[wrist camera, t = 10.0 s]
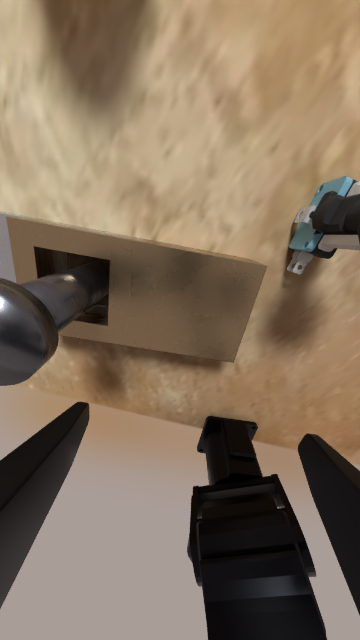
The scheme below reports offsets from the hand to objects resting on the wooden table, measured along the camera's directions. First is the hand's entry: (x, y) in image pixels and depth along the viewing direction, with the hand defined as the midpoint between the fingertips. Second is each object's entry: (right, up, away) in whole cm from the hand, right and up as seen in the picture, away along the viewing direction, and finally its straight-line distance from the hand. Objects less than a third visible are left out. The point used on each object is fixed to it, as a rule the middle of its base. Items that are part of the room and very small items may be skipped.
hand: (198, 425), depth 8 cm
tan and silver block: (-8, +8, +10) cm, 15 cm away
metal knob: (-8, +8, +10) cm, 15 cm away
